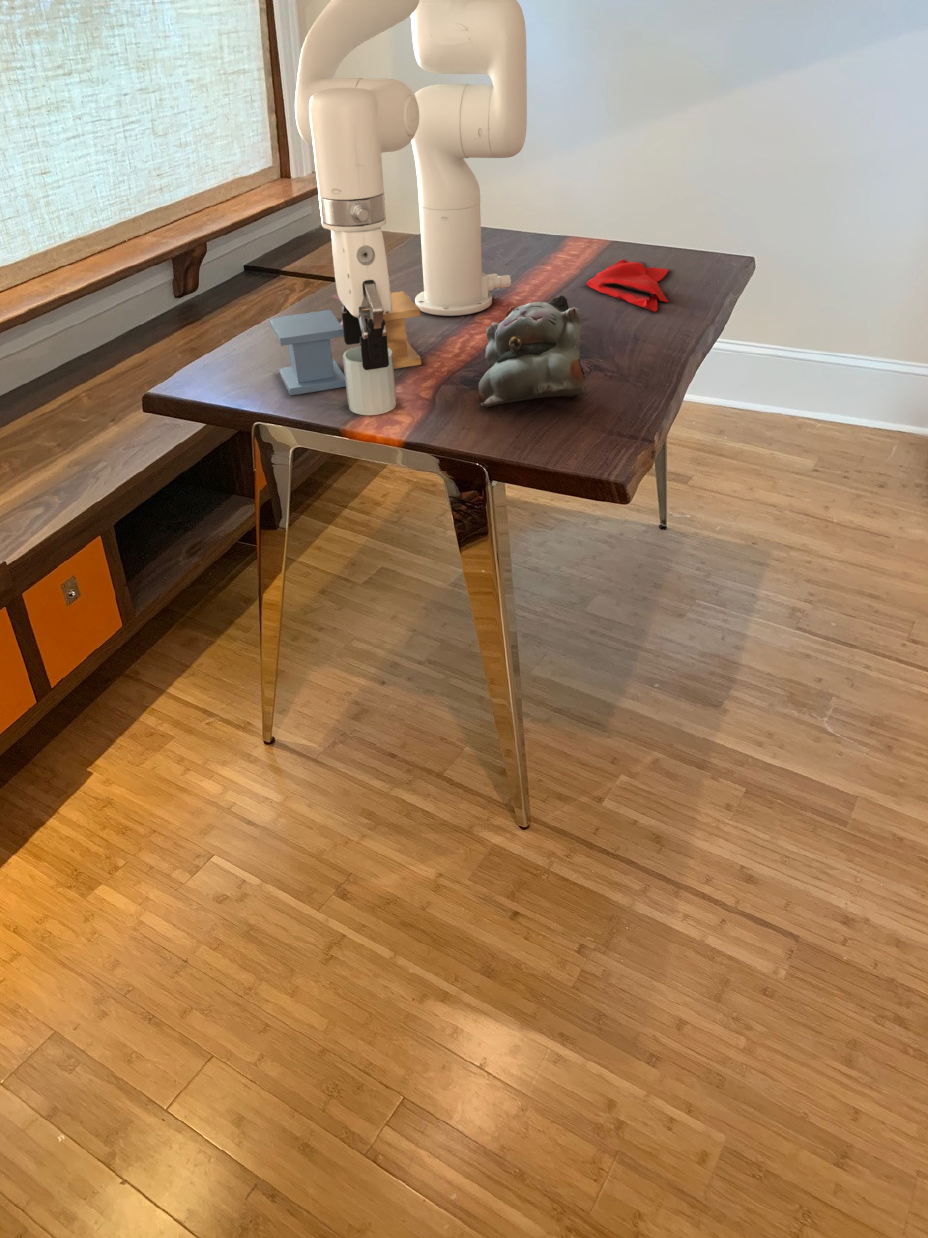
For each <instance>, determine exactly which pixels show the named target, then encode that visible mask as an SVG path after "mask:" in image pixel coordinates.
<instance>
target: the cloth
mask: <svg viewBox="0 0 928 1238" xmlns="http://www.w3.org/2000/svg"><path fill="white" fill-rule="evenodd" d="M668 272H669V269H668V268H659V267H646V266H645V264H643V263H642V262H637V261H628V260H626V259H625V258H623V259H621V260H619V261H617V262H615V263H614V264H612V265H609V266H608V267H607V268H605V269H604V270H602V271H599V272H598V273H596V275H594V277H592V278H590V279H589V280H587V283H586V286H588V287H589V288H590V289H592V290H595V291H597V292H599V293H602V294H604V295H607V296H610V297H613V298H615V299H618V300H620V301H621V300H622V301H624V302H627V303H630V304H632V305H635V306H637V307H640V308H643V309H645V310H648V311H651V312H657V311H658V300H659V301H661V302H664V303H669V300H668V299H667V297H666V296H665V294H664V293H663V291H662V289H661V287H660V285H659V283H658V282H660V281H662V280H663V279H664V278H665V277H666V275H667V274H668Z"/></svg>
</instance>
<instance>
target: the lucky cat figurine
mask: <svg viewBox="0 0 928 1238" xmlns="http://www.w3.org/2000/svg"><path fill="white" fill-rule="evenodd" d="M569 307H570V306H569V304H568V300H567V298H566V296H564V295H558V296H557V297H555V298H554V297H553V299H552V300H551V301H549V302H544V301H533V302H528V303H526V304H523V305H520V306H517V305H515V306H510V308H509V309H508V311H507V312H506V314H504V315H505V316H504V318H503V319H502V320H500V321H498V322H495V321H492V322H491V325H490V326H485V335H486V339H487V345H486V347H485V354H484V355H485V356H484V357H485V361H486V362H487V365H488V366H487V367H488V370H487V371H486V372H485V373H484V375H482V377H481V379H480V381H479V382H478V391H479V392H478V395H479V397H480V398H481V400H482V402H481V403H480V406H484V407H485V408H486V409H488V408H490V407H493V406H496V405H502V404H503V405H504V404H508V403H515V402H520V401H527V400H533V399H539V398H554V397H555V398H556V397H570V398H577V397H578V396H580V395H585V394H587V390H586V374H585V371H584V368H583V366H582V362H581V352H580V347H581V331H582V330H583V322H582V318H583V313H582V311H581V310H580V309H579V308H578V307H574V306H573V307H571V308H569Z"/></svg>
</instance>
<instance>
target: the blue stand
mask: <svg viewBox="0 0 928 1238" xmlns="http://www.w3.org/2000/svg"><path fill="white" fill-rule="evenodd" d="M268 320H269V321H268V322H269V326H270V328H271V329H272V332H273V334H274V335H275V337H276V339H277V342H278V343H279V345H280V346H281V347H284V346H287V349H288V355H289V362H290V366H285V367H279V368H278V371H279V375H280V378H281V379H282V382H283V383H284V385H285V388H286V389H287V392H288V394H289V396H296V395H303V394H308V393H315V392H321V391H328V390H332V389H341V388H346V381H345V373H344V371H343V370H342V369H341V367H340V366H339V364H338V362H337V361H336V359H333V356H332V355H333V354H332V347H331V340H330V339H336V338H342V337H343V338H344V332H343V326H341V324H340V321H339V319H337V317H336V315H335V314H334V313H333V312H332V310H331V309H326V310H325V309H324V310H318V311H317V310H316V311H311V312H304V313H299V314H298V313H296V314H289V315H283V316H277V317H276V316H275V317H270V318H268Z"/></svg>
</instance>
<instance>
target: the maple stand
mask: <svg viewBox="0 0 928 1238" xmlns="http://www.w3.org/2000/svg"><path fill="white" fill-rule="evenodd" d="M391 300H392V311H391V312H390V313H389V314H386V313H385V312H384V311H383V319H384V320H385V321H384V322H385V327H386V334H387V345H388V348H390V349H391V351H392V354H393V366H394V370H396V369H402V368H407V367H408V368H409V367H414V366H420V365H422V357H421V356H420V355H419V354H418V353H417V352H416V350H415V349H414V348H413V346H412V345H411V344H410V343H409V342H408V341H407V327H406V326H407V325H406V319H407V318H408V319H409V318H413V317H414V318H415V317H420V316H421V311H420V308H419V307H418V306H417V305H416V304H415V301H413V300H412V299H411V298H410V297H409V296H408V295H407V293H405V291H404V290H402V291H401V290H400V291H393V292H391ZM363 310H370V308H369V309H363ZM369 319H371V318H368V320H369Z"/></svg>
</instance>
